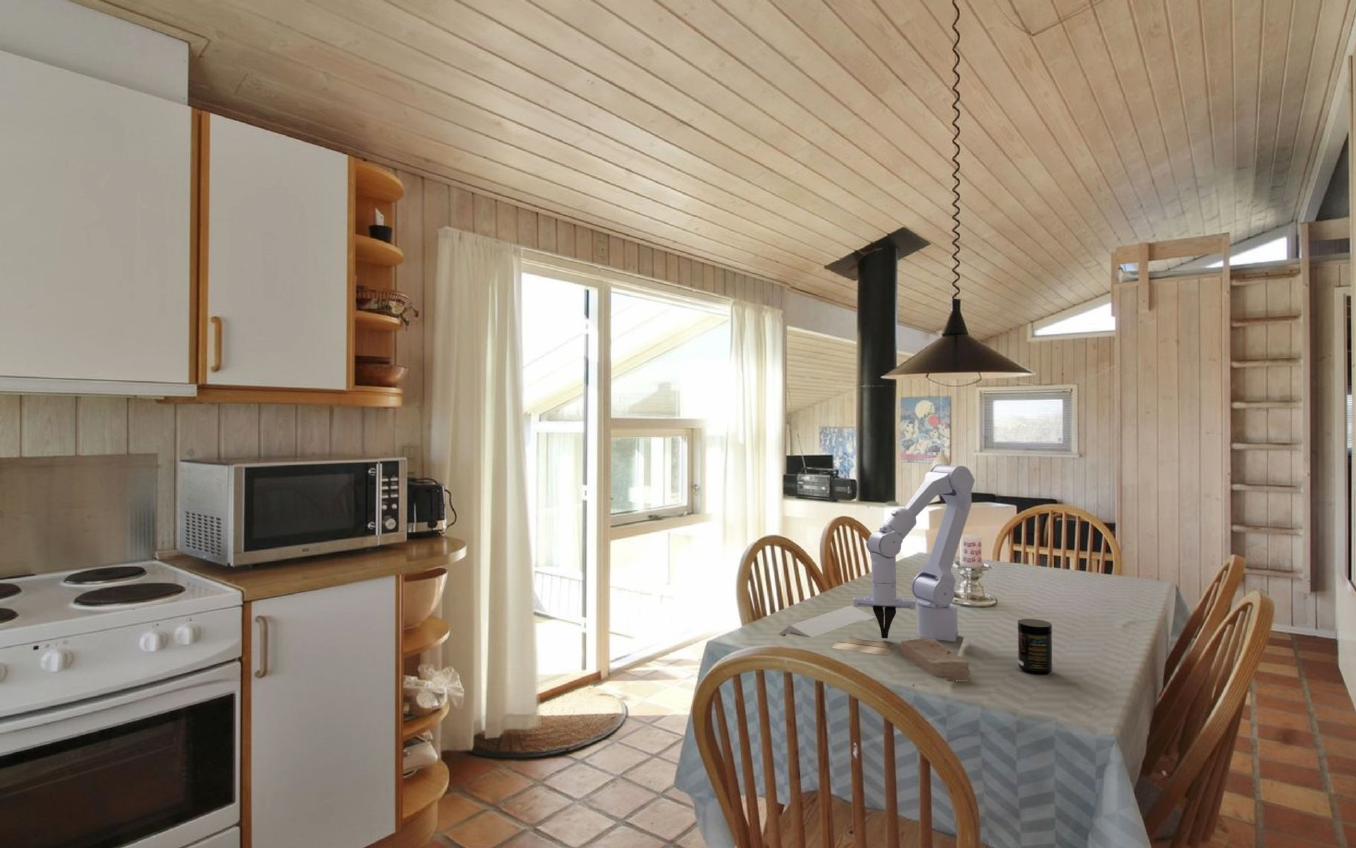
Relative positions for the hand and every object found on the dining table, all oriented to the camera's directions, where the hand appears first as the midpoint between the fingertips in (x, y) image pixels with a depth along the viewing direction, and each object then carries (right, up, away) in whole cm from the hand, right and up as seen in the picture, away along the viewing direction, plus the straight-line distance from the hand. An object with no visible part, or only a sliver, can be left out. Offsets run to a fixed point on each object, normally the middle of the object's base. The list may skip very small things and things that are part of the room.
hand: (884, 637), depth 176 cm
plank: (-3, -2, 0) cm, 4 cm away
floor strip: (-7, -2, -6) cm, 9 cm away
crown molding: (-10, -3, +17) cm, 20 cm away
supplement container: (+28, -2, -19) cm, 33 cm away
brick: (+6, -2, -17) cm, 18 cm away
